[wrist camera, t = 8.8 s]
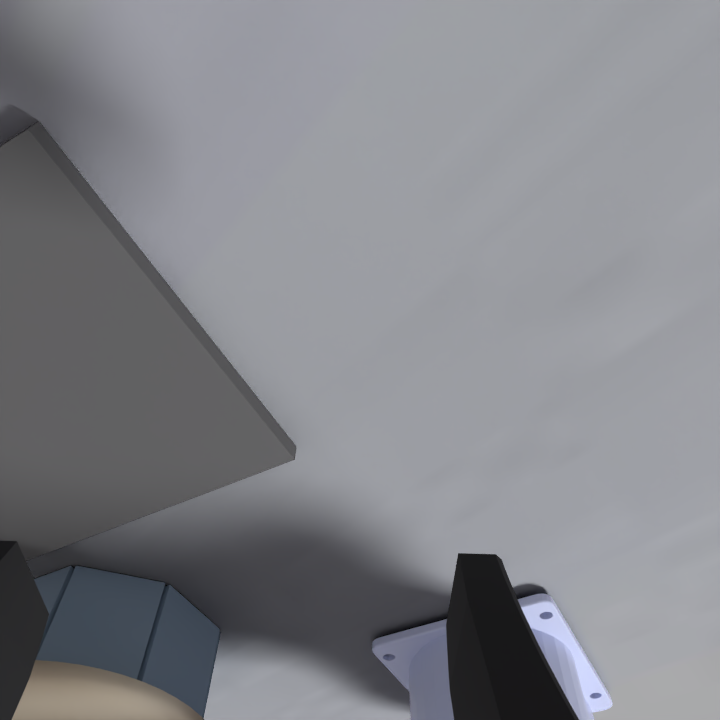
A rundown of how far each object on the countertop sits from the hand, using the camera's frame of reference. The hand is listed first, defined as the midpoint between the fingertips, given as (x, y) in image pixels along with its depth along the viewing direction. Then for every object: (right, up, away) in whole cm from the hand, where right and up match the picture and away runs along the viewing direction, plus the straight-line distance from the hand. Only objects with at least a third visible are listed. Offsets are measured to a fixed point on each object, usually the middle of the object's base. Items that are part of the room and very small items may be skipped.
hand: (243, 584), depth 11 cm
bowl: (-9, -8, +18) cm, 22 cm away
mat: (-8, +3, +10) cm, 13 cm away
